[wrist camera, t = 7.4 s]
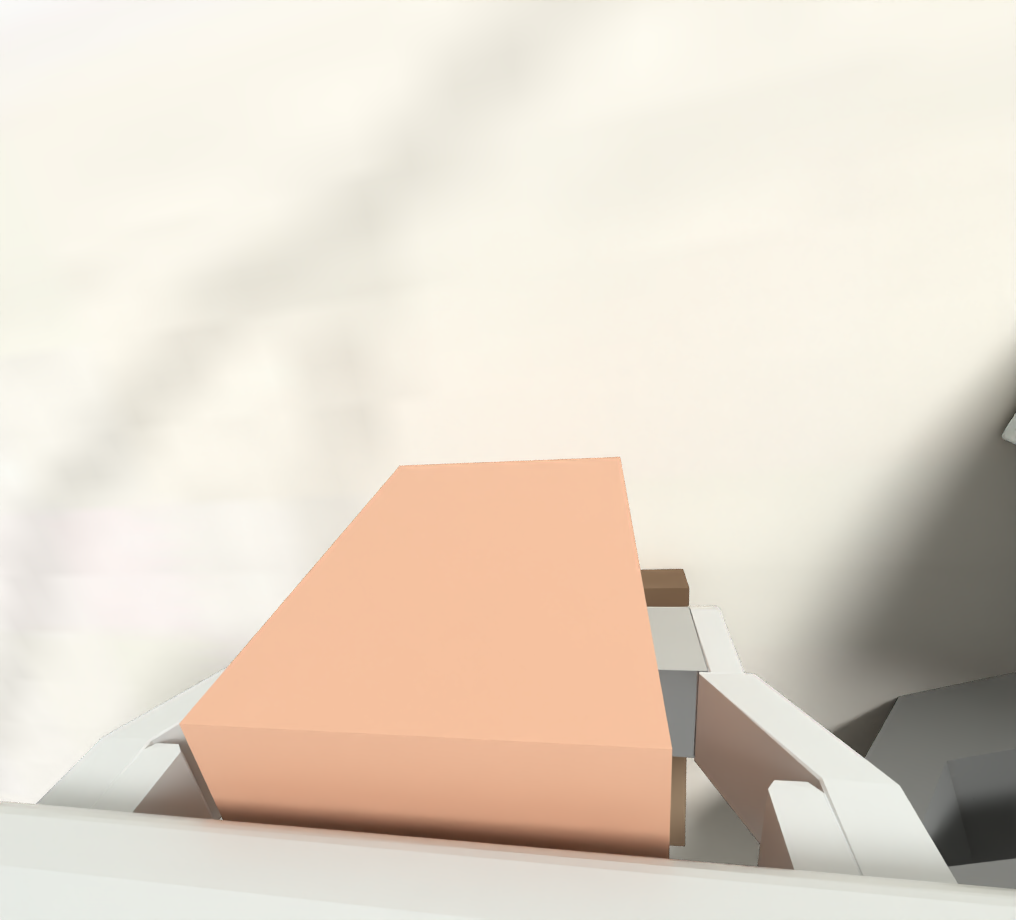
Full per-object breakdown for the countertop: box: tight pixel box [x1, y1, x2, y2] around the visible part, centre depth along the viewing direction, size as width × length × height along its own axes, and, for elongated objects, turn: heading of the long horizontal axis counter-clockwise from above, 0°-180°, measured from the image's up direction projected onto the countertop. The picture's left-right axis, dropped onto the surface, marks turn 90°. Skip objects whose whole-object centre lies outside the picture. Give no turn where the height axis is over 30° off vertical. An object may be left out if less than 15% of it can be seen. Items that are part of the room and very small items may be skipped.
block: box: [179, 457, 672, 859], centre depth 9 cm, size 5×5×7 cm
